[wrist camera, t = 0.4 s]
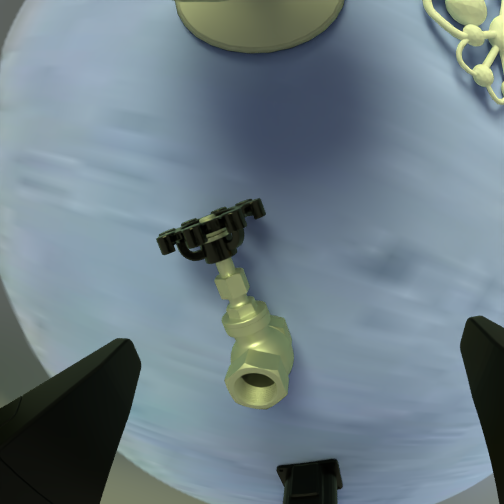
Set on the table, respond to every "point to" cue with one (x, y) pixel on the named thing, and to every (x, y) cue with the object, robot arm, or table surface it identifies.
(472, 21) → the tangled rod sculpture
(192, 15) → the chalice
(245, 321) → the valve
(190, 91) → the table surface
